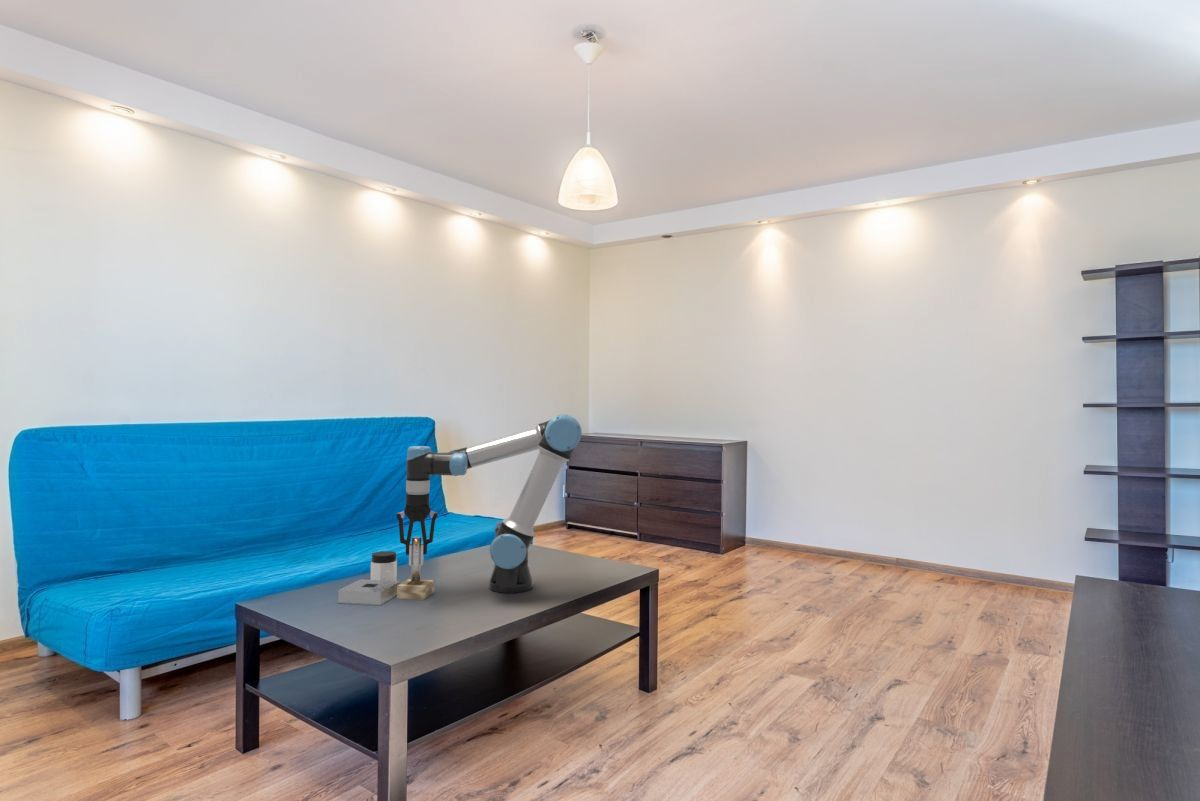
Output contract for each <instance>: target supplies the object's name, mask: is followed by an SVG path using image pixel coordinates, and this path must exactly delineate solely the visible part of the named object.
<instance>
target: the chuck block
mask: <svg viewBox="0 0 1200 801" xmlns="http://www.w3.org/2000/svg"><path fill="white" fill-rule="evenodd" d="M399 584H401V581H400V580H397V581H384V580H371V579H364V578H363V579H361V578H360V579H358V580H356V581H354V582H352V583H349V584H347V585H346V586H344V587H342V588H339V589H338V592H337V593H338V594H337V595H338V597H337V598H338V600H337V601H338V602H337V603H338V604H348V605H349V604H351V605H364V606H365V605H366V606H367V605H368V606H369V605H370V606H383V604H385V603H387V602H388V601H390V600H392V599H394V598H395V597H397V585H399Z"/></svg>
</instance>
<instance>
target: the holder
mask: <svg viewBox="0 0 1200 801" xmlns="http://www.w3.org/2000/svg"><path fill="white" fill-rule="evenodd" d="M434 593H435V580H434V579H420V581H416V582H414V581H411V578H408V579H406V580H404V581H403V582H400V584H399V585H397V596H396V598H397V599H402V600H418V601H419V600H426V599H427V598H428V597H430V596H431V595H432V594H434Z"/></svg>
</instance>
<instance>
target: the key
mask: <svg viewBox="0 0 1200 801" xmlns="http://www.w3.org/2000/svg"><path fill="white" fill-rule="evenodd" d="M411 544H412V563H411V566H410V568H411V570H410V579H411V581H414V582H416V581H420V580H421V574H422V573H421V569H422V565H420V563H421V544H422V537H421V536H413V537H412V536H411Z"/></svg>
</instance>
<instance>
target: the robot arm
mask: <svg viewBox="0 0 1200 801" xmlns="http://www.w3.org/2000/svg"><path fill="white" fill-rule="evenodd" d="M582 433H583V432H582V427H581V425H580V423H579V421H578V420H577V419H576V418H574V417H573V416H572V415H568V414H558V415H555V416H554V417H552V418H550V419H549V420H547V421H544V422H540V423H537V425H536V426H535V427H534V428H530V429H526V430H522V431H519V432H516V433H512V434H509V435H505V436H501V437H498V438H494V439H491V440H486V441H483V442H480V443H476V444H472V445H468V446H466V447H462V448H459V449H458V448H457V449H454V450H450V451H448V452H435V451H434V452H432V450H431V447H430V446H426V445H415V446H414V445H412V446H409V447H408V449H407V454H406V480H405V481H406V482H405V492H406V495H405V508H404V509H403V510H402V511H401V512H397V513H396V519H397V520H398V529H399V531H398V532H399V542H400V544H403V545H405V555H406V556H408V566H410V567H411V563H412V543H411V541H412V533H413V527H414V523H415V522H419V523H420V529H421V536H422V537H421V539H422V543H421V563H420V565H421V566H423V565H424V555H427V553H428V545H429V544H431V543H433V541H434V533H435V532H434V531H435V525H436V519H437V517H438V515H439V513H438V512H437V511H433V510H431V507H430V494H429V493H430V489H431V488H430V487H431V486H430V485H431V476H451V477H453V476H454V477H457V476H465V475H466V474H467V471H468V470H469V469H472V468H476V467H478V466H483V465H486V464H490V463H493V462H498V461H501V460H504V459H508V458H512V457H515V456H518V455H522V454H526V453H531V452H533V451H537V450H538V451H539V453H538V455H537V458H536V459H535V461H534V464H533V466H532V468H531V470H530V472H529V474H528V476H527V479H526V481H525V483H524V485H523V487H522V489H521V492H520V493H519V495H518V498H517V500H516V502H515V505H514V506H513V508H512V510H511V513H510V515H509V517H507V518H505V519H503V520H502V521H498V522H496V523H495V528H494V532H495V534H494V535H495V536H494V539H492V541H491V543H490V546H489V555H490V558H491V560H492V562H493V563H494V566H493V569H492V573H491V575H490V578H489V582H488V589H489V590H491V591H493V592H498V593H505V594H506V593H507V594H513V593H515V592H516V593H522V591H523V592H527V591H529V590H528V589H530V590H532V589H533V587H534V586H533V578H532V575H531V572H530V567H529V548H530V546H531V544H532V541H533V539H534V537H535V532H534V527H535V524H536V522H537V520H538V517H539V516H540V513H541V511H542V509H543V507H544V505H545V502H546V501H547V498H548V496H549V494H550V492H551V490H552V488H553V486H554V483H555V481H556V479H557V477H558V475H559V473H560V470H561V468H562V467H563V464H564V463H566V462H570V460H571V458H572V456H573V453H574V452H575V450H576V447H577V445H578V444H579V443H580V441H581V439H582ZM405 516H406V517H407V519H409V524H408V530H407V534H406V539H405V530H404V529H405V528H404V527H405V526H404V518H405ZM428 516H430V518H431V521H430V527H429V537H427V529H426V519H427V517H428ZM532 586H533V587H532ZM531 588H532V589H531ZM526 590H527V591H526Z"/></svg>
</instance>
